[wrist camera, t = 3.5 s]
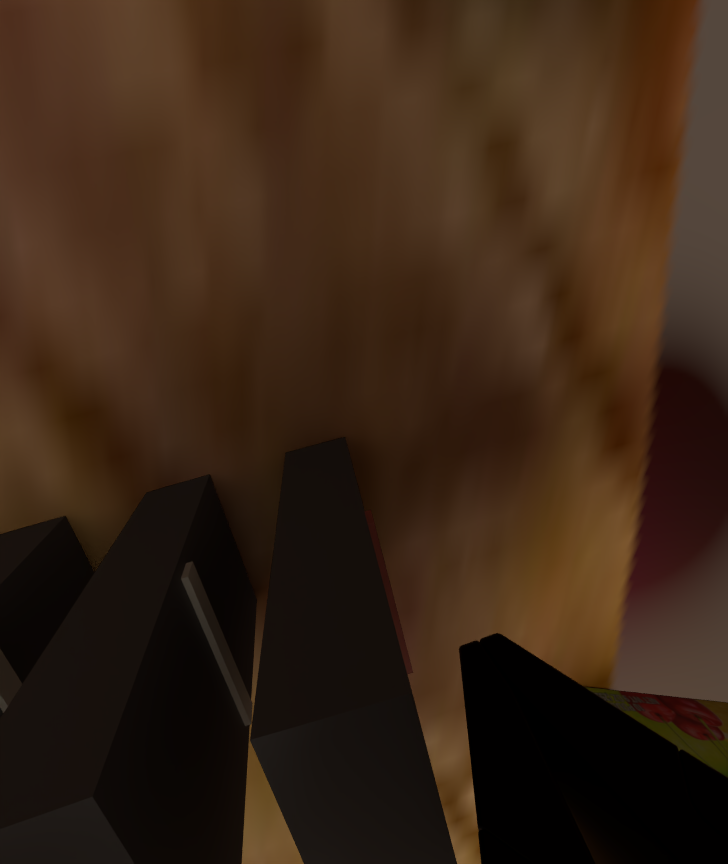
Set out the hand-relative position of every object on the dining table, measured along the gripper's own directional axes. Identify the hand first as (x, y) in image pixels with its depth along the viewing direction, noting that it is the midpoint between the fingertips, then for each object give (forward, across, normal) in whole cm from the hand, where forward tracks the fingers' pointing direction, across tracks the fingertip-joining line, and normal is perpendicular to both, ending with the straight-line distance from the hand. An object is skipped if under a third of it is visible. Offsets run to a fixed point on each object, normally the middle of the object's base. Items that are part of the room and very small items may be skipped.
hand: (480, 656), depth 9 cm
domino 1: (+8, +2, 0) cm, 8 cm away
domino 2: (+8, +6, 0) cm, 10 cm away
